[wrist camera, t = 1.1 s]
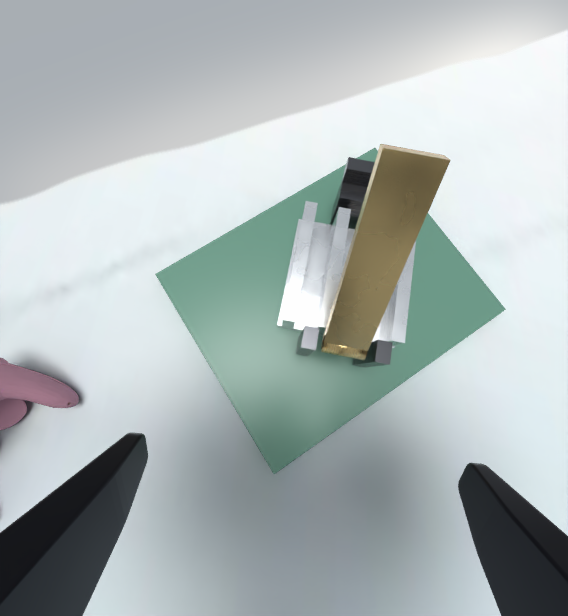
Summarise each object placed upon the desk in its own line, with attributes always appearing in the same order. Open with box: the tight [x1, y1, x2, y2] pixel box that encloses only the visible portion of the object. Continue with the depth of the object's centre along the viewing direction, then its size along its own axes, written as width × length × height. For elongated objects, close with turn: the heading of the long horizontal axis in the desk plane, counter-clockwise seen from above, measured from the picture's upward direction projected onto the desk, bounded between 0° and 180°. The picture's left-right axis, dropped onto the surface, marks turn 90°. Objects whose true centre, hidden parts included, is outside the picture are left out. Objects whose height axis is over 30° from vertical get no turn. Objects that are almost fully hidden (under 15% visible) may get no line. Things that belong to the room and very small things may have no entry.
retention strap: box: [321, 144, 450, 360], centre depth 15 cm, size 11×2×1 cm
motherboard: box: [156, 148, 506, 474], centre depth 23 cm, size 16×20×1 cm
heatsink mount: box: [277, 157, 416, 367], centre depth 20 cm, size 12×8×5 cm, turn 169°
